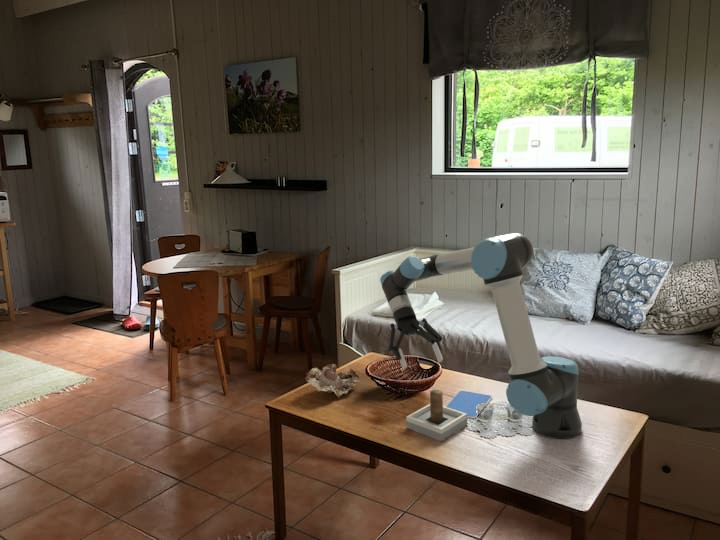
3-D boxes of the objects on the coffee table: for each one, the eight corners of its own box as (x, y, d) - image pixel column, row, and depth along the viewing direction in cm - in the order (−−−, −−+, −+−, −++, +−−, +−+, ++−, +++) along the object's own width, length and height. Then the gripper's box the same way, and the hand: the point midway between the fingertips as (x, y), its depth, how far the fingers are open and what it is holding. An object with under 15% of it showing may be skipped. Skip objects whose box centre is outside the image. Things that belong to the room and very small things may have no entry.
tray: (467, 425, 199) (467, 413, 198) (441, 441, 189) (441, 429, 188) (432, 413, 209) (432, 402, 208) (406, 427, 199) (406, 416, 198)
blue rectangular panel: (475, 421, 203) (475, 417, 203) (440, 414, 209) (440, 410, 209) (493, 398, 219) (493, 395, 219) (459, 392, 225) (459, 389, 225)
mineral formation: (314, 403, 217) (324, 380, 214) (294, 378, 229) (304, 356, 227) (362, 405, 231) (373, 383, 228) (342, 381, 243) (351, 360, 241)
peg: (445, 426, 199) (445, 391, 196) (438, 430, 196) (437, 395, 194) (435, 422, 202) (435, 388, 199) (428, 426, 199) (427, 392, 196)
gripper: (430, 311, 223) (451, 362, 213) (367, 321, 215) (386, 375, 204) (437, 300, 217) (459, 353, 207) (372, 310, 209) (392, 365, 198)
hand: (423, 364), depth 205 cm, fingers open, 13 cm apart
